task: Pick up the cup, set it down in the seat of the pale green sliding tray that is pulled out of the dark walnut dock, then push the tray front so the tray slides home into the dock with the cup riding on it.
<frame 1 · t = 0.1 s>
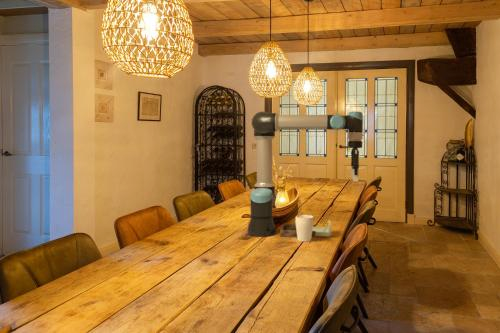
hand: (354, 179, 243), 28 cm above the table, fingers open, 13 cm apart
tray: (314, 227, 237), point 4 cm above the table, slide at 7.5 cm
dock: (298, 233, 238), on the table
cup: (304, 240, 225), on the table
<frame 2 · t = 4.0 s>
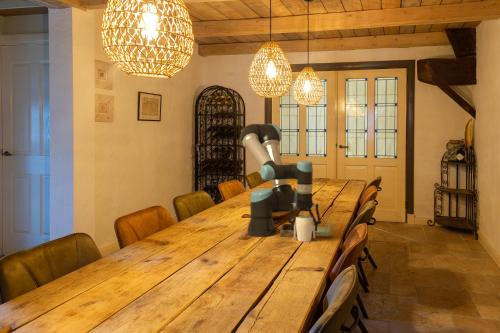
hand: (304, 237, 224), 1 cm above the table, fingers closed on cup, 9 cm apart
cup: (304, 240, 225), on the table, touching gripper
everything else where it was.
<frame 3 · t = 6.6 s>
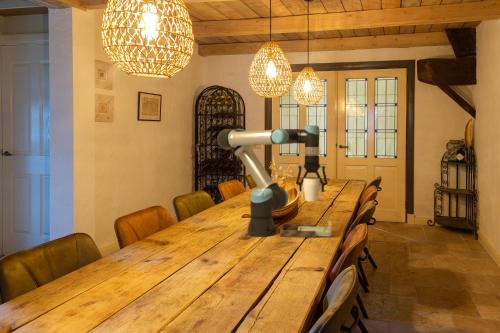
hand: (311, 197, 236), 19 cm above the table, fingers closed on cup, 9 cm apart
cup: (311, 201, 236), point 18 cm above the table, touching gripper
everything else where it was.
when the fingers open (4 cm above the table, at t = 9.4 s): cup drops 2 cm, resting on tray.
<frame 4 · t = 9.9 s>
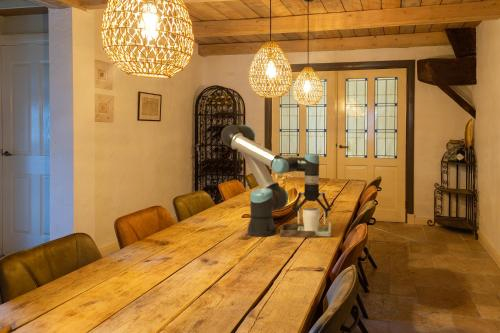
hand: (311, 223, 237), 6 cm above the table, fingers open, 13 cm apart
tray: (314, 227, 237), point 4 cm above the table, slide at 7.4 cm, touching cup
cup: (311, 231, 237), point 1 cm above the table, touching tray
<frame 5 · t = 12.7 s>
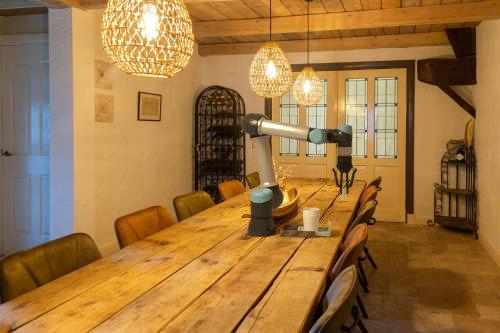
hand: (343, 200, 233), 18 cm above the table, fingers closed
nothing on the table moved.
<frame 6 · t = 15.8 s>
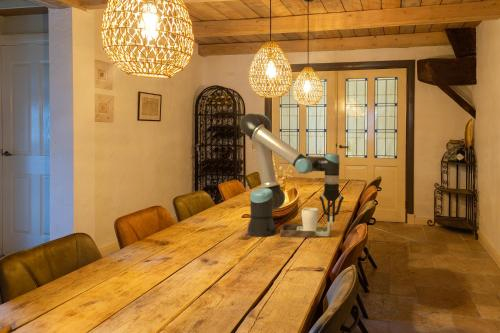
hand: (330, 227, 236), 4 cm above the table, fingers closed
tray: (313, 227, 237), point 4 cm above the table, slide at 6.8 cm, touching cup, gripper
everything else where it was.
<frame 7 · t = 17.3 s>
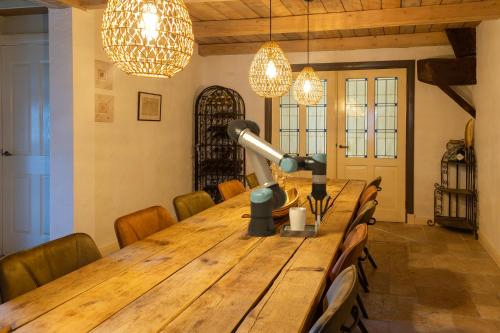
hand: (318, 227, 237), 4 cm above the table, fingers closed
tray: (300, 227, 238), point 4 cm above the table, slide at 0.4 cm, touching cup, gripper
cup: (297, 231, 238), point 1 cm above the table, touching tray
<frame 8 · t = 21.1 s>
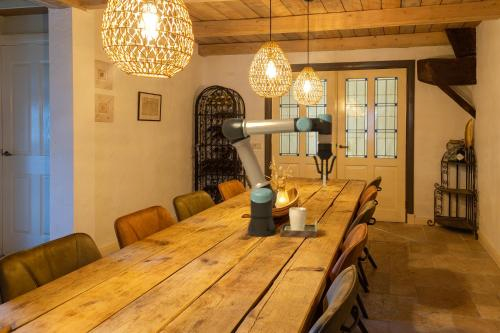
hand: (324, 186, 244), 24 cm above the table, fingers closed
tray: (300, 227, 238), point 4 cm above the table, slide at 0.3 cm, touching cup
everything else where it was.
at the end: tray slide at 0.3 cm; cup inside the target area on the dock (0.7 cm from its centre), point 1.2 cm above the dock's base; cup tilted 0° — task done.
